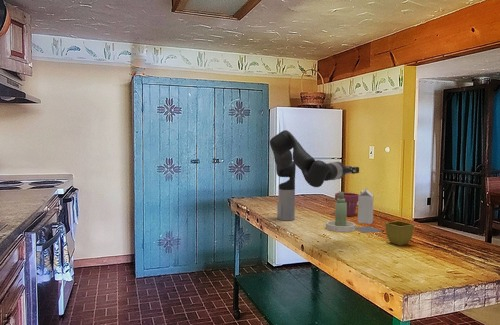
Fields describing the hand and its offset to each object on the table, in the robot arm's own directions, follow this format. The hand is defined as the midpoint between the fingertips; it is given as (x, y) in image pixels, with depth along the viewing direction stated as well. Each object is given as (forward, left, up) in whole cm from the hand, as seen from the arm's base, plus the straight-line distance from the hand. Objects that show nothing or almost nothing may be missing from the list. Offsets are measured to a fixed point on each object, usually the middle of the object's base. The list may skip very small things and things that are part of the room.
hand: (347, 168), depth 175 cm
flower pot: (+17, -16, -32) cm, 40 cm away
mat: (+17, +9, -32) cm, 37 cm away
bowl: (+5, +14, -32) cm, 35 cm away
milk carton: (+26, +25, -32) cm, 48 cm away
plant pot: (+27, +47, -32) cm, 63 cm away
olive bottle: (+4, +14, -31) cm, 34 cm away
